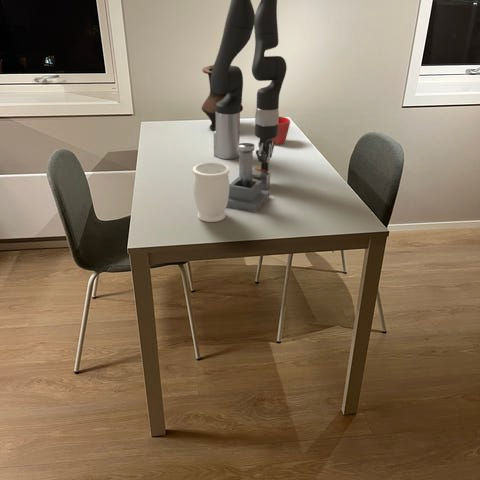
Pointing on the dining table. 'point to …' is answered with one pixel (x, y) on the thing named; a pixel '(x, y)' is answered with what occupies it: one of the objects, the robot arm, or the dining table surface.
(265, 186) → the block
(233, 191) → the socket
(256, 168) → the lock pin
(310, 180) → the dining table surface
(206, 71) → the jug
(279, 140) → the flower pot
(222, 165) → the jar
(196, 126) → the dining table surface
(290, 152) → the dining table surface
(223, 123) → the robot arm
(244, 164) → the cylinder
